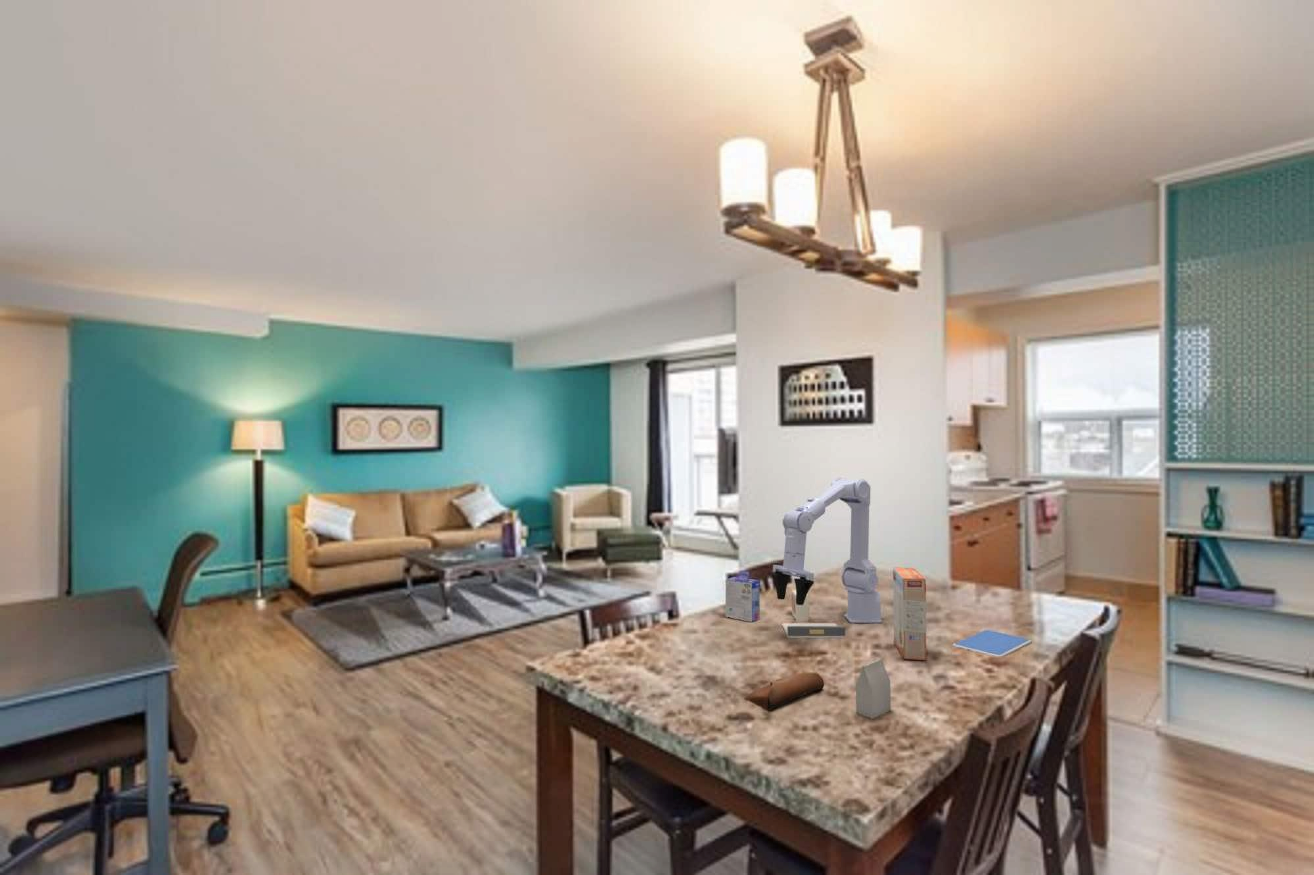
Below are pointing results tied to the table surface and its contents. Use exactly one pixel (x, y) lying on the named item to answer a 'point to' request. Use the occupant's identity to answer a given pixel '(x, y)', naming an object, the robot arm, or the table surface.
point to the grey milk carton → (873, 690)
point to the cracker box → (909, 613)
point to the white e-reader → (814, 630)
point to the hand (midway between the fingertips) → (790, 601)
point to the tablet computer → (992, 643)
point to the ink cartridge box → (743, 598)
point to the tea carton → (800, 608)
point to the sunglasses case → (785, 690)
